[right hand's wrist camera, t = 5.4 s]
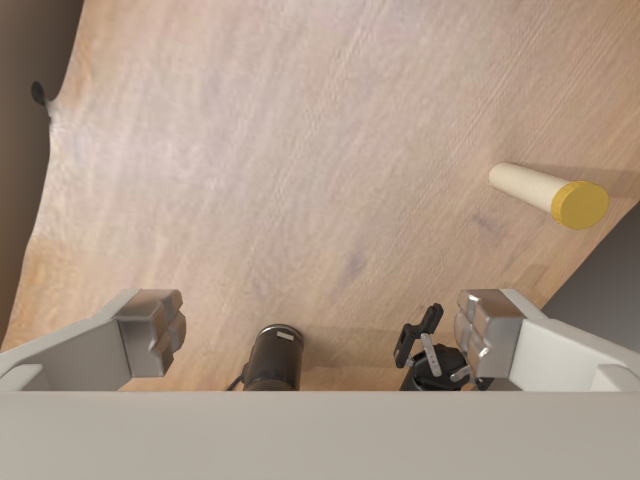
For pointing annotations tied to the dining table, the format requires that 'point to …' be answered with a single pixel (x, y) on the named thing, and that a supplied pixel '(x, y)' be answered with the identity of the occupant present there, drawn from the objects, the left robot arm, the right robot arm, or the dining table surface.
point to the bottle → (526, 184)
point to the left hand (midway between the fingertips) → (469, 315)
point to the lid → (579, 204)
